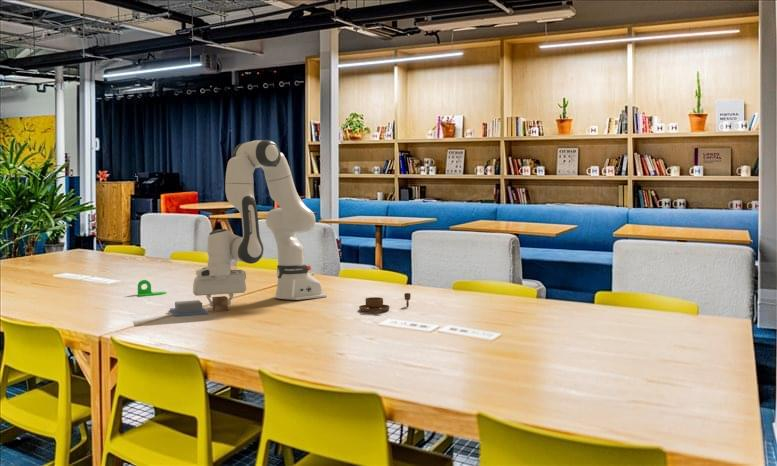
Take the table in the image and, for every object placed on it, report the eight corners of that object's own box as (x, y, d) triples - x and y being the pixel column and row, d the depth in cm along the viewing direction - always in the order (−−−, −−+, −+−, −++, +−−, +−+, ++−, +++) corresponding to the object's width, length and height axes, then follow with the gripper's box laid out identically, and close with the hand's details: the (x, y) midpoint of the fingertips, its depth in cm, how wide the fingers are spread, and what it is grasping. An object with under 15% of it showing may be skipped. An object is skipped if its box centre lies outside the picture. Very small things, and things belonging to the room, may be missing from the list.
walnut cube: (225, 308, 265) (225, 296, 265) (227, 310, 261) (227, 297, 261) (212, 309, 263) (212, 296, 263) (214, 311, 259) (214, 298, 259)
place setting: (362, 307, 270) (362, 292, 270) (411, 307, 269) (411, 292, 268) (356, 314, 253) (356, 298, 253) (408, 314, 251) (408, 299, 251)
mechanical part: (139, 299, 295) (138, 281, 294) (137, 297, 300) (137, 280, 300) (167, 297, 300) (167, 280, 300) (165, 296, 305) (165, 278, 305)
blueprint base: (201, 308, 267) (201, 298, 267) (207, 314, 252) (207, 304, 252) (170, 310, 262) (169, 300, 262) (174, 316, 247) (174, 306, 247)
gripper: (244, 268, 269) (244, 302, 269) (191, 271, 260) (192, 306, 261) (247, 270, 263) (248, 304, 263) (194, 272, 254) (194, 308, 255)
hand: (220, 305), depth 262 cm, fingers closed on walnut cube, 5 cm apart
